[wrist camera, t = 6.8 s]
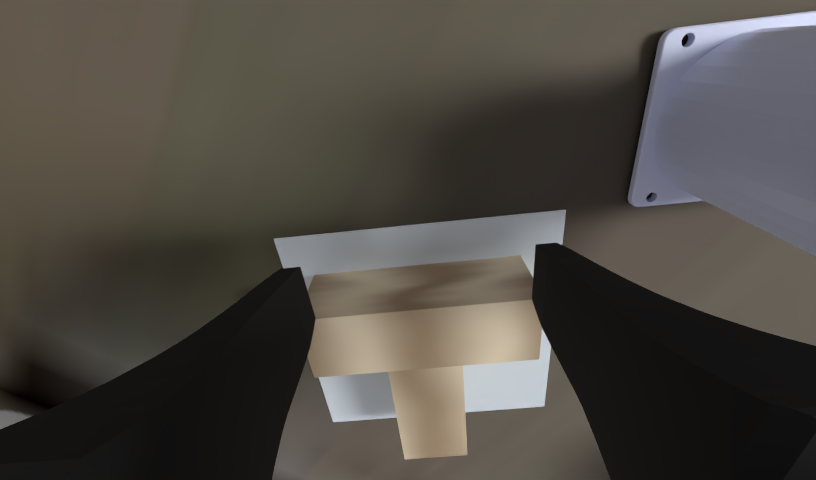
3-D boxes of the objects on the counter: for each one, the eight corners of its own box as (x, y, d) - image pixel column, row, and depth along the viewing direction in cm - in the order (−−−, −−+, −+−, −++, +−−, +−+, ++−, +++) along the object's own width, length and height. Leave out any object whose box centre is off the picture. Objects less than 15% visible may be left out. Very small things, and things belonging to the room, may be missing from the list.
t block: (520, 255, 20) (544, 298, 17) (513, 395, 26) (530, 450, 22) (314, 274, 21) (295, 320, 17) (351, 408, 26) (343, 463, 23)
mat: (564, 207, 19) (566, 209, 19) (542, 402, 27) (544, 406, 26) (275, 236, 20) (273, 239, 20) (333, 418, 27) (333, 422, 27)
